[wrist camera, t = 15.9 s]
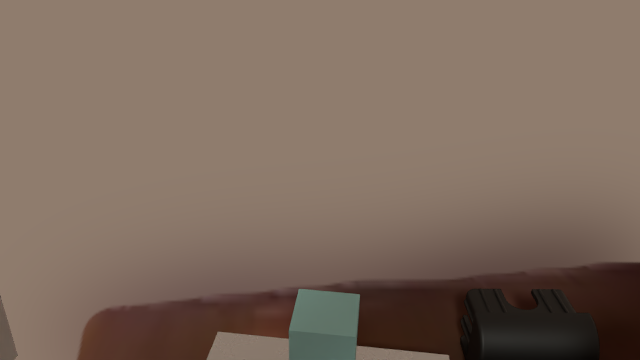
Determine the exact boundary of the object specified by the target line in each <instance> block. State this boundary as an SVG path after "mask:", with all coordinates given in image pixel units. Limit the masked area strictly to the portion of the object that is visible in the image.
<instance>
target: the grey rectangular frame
mask: <svg viewBox="0 0 640 360" xmlns="http://www.w3.org/2000/svg"><path fill="white" fill-rule="evenodd" d="M207 360H289V339H285V338H275V337H265V336H255V335H245V334H235V333H225V332H218V333H217V336H216V338H215V340H214V343H213V345H212V348H211V350H210V353H209V355H208V358H207ZM356 360H449V355H442V354H432V353H423V352H413V351H403V350H393V349H383V348H373V347H363V346H357V347H356Z"/></svg>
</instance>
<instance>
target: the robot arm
mask: <svg viewBox="0 0 640 360" xmlns="http://www.w3.org/2000/svg"><path fill="white" fill-rule="evenodd" d="M17 356H18V355H17V351H16V348H15V344H14V341H13V337H12V334H11V331H10V327H9V324H8V320H7V317H6V314H5V310H4V307H3V304H2V300H1V296H0V360H14V359H15V358H16V357H17Z"/></svg>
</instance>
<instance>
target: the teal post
mask: <svg viewBox="0 0 640 360" xmlns="http://www.w3.org/2000/svg"><path fill="white" fill-rule="evenodd" d="M359 302H360V294H350V293H340V292H329V291H318V290H307V289H299V291H298V295H297V299H296V303H295V308H294V312H293V316H292V320H291V324H290V328H289V360H356V347H357V332H358V317H359Z"/></svg>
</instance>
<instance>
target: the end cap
mask: <svg viewBox="0 0 640 360" xmlns="http://www.w3.org/2000/svg"><path fill="white" fill-rule="evenodd" d="M531 294H532V296H533V298H534V299H535V301H536V303H537V305H538V306H537V307H536V308H535V309H532V310H523V309H519V308H516V307H514V306H512V305H510V304H509V303H508V302H507V301H506V299H505V297H504V295H503V293H502V291H501V289H472V290H470V291H468V292H467V295H466V299H465V300H464V304H465V306H466V309H467V311H468V314H469V317H470V319H471V322H472V326H471V324H470V321H469V318H468V316H467V315H463V318H462V319H461V326H462V329H463V332H464V335H463V336H462V337H461V341H460V344H461V347H462V350H463V353H464V356H465V359H466V360H599V353H600V346H599V337H598V332H597V329H596V325H595V323H594V320H593V318H592V317H591V315H590V314H589V313H576V312H575V310H574V308H573V307H572V305H571V304H570V302H569V301H568V299H567V297H566V296H565V294H564V293H563V291H561V290H555V289H532V291H531Z"/></svg>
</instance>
